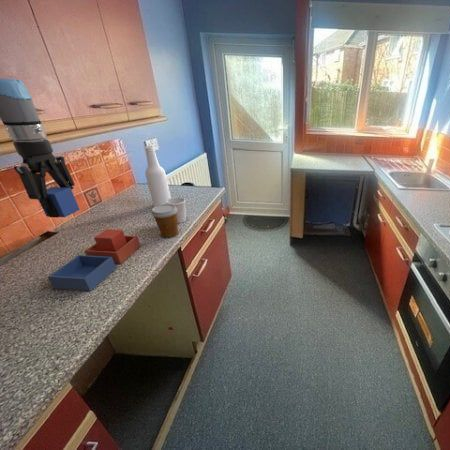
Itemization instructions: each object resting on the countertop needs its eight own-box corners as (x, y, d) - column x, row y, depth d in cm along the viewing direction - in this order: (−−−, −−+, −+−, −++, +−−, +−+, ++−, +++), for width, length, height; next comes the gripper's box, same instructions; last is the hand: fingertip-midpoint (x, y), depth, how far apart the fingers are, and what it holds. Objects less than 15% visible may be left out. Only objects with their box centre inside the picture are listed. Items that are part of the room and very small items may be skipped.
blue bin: (54, 288, 75) (47, 276, 73) (84, 265, 85) (78, 254, 83) (90, 290, 75) (84, 279, 73) (116, 267, 85) (111, 256, 82)
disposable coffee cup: (154, 232, 106) (147, 207, 100) (177, 226, 112) (172, 201, 106) (161, 242, 100) (154, 215, 94) (185, 234, 105) (180, 209, 100)
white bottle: (152, 204, 132) (137, 145, 118) (170, 201, 136) (158, 144, 122) (154, 210, 125) (139, 149, 111) (173, 206, 130) (161, 147, 116)
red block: (101, 256, 89) (93, 237, 85) (113, 247, 94) (106, 229, 90) (118, 257, 89) (110, 238, 85) (129, 248, 94) (122, 229, 90)
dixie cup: (193, 218, 119) (189, 199, 114) (178, 225, 112) (173, 205, 107) (180, 214, 122) (176, 195, 117) (165, 221, 115) (160, 201, 110)
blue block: (46, 216, 80) (34, 193, 76) (62, 209, 85) (52, 186, 82) (64, 217, 80) (54, 194, 76) (79, 209, 85) (70, 187, 82)
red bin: (89, 261, 87) (84, 250, 85) (112, 244, 97) (108, 234, 95) (120, 263, 87) (116, 252, 84) (140, 246, 97) (137, 236, 94)
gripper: (8, 146, 63) (48, 226, 74) (71, 135, 80) (96, 201, 91) (-21, 145, 63) (23, 225, 74) (48, 134, 80) (75, 200, 91)
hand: (63, 212), depth 83 cm, fingers closed on blue block, 6 cm apart
